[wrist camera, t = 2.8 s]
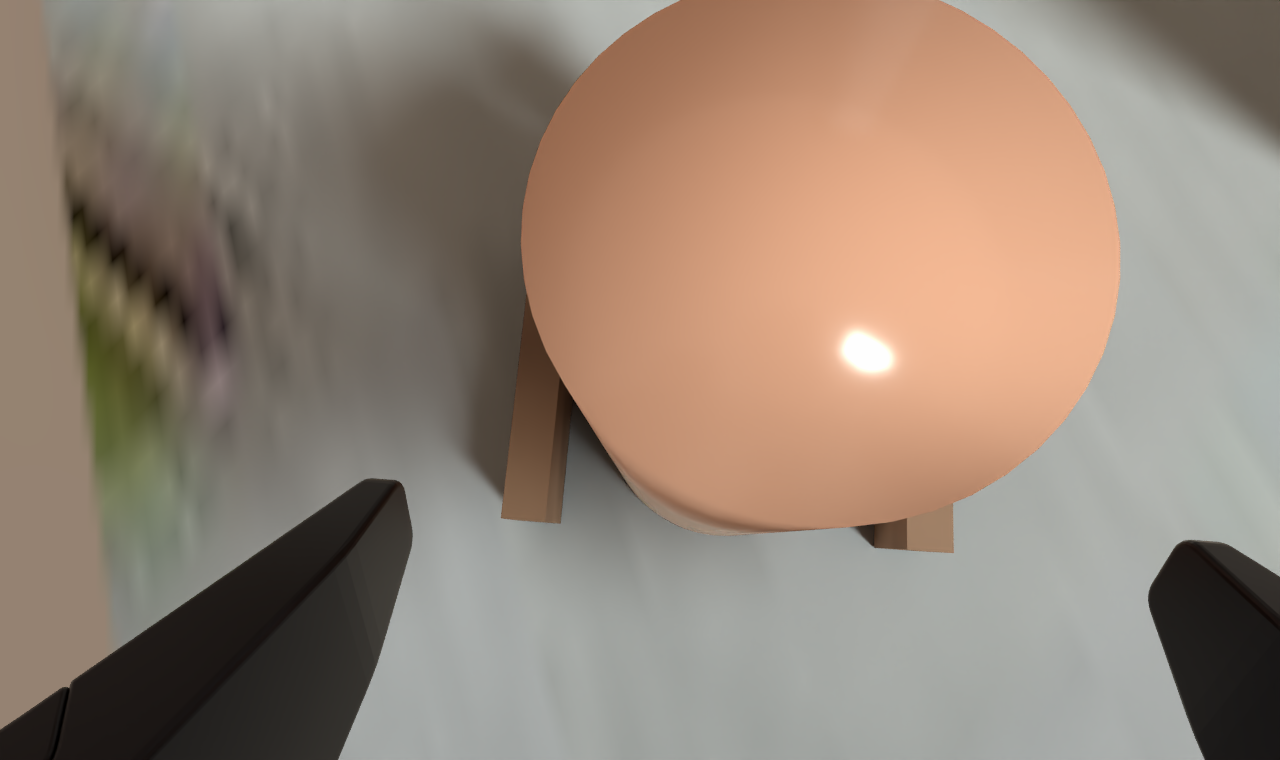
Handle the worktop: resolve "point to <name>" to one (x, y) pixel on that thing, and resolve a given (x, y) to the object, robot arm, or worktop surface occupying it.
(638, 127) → the jug
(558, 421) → the jug cradle
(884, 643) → the worktop surface
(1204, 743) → the robot arm
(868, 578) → the worktop surface
